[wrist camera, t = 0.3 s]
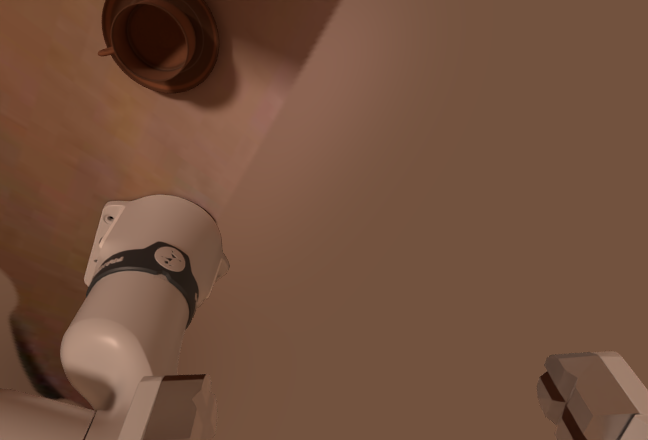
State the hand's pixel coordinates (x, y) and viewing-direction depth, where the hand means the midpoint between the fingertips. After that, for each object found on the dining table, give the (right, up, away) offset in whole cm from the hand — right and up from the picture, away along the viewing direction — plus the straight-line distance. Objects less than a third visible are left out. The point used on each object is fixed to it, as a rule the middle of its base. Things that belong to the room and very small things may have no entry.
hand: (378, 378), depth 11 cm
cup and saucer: (-19, +24, +37) cm, 48 cm away
